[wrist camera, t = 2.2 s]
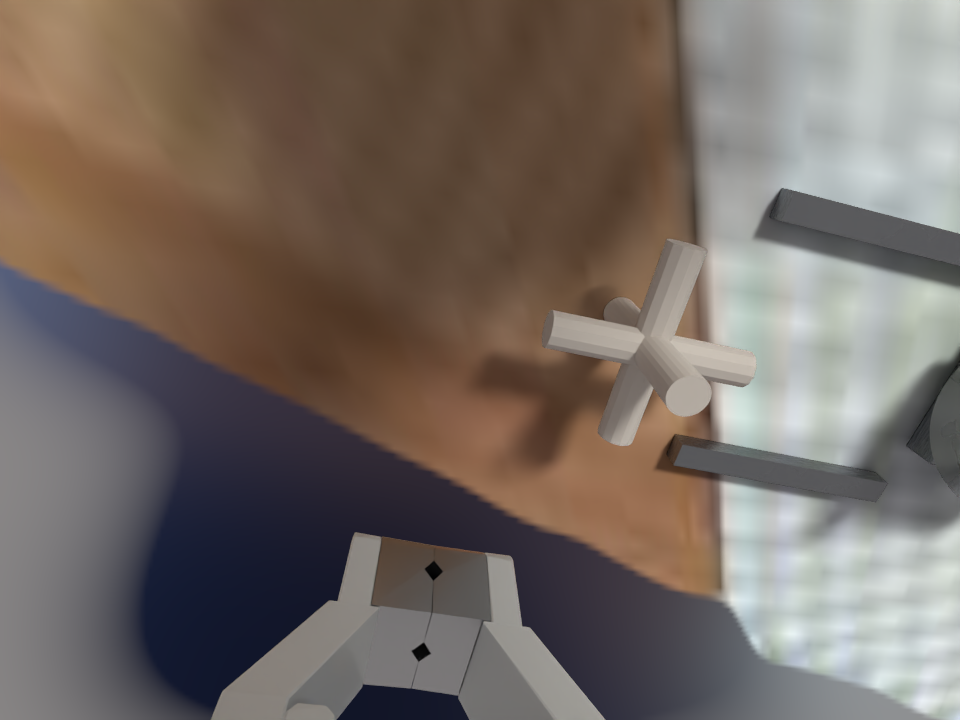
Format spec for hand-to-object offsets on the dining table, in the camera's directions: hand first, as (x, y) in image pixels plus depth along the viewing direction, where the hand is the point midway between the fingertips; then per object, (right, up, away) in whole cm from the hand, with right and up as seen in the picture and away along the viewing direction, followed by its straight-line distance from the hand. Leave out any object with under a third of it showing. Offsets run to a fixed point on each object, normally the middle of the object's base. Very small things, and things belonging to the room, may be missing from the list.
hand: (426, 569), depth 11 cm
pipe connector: (+9, +7, +21) cm, 24 cm away
